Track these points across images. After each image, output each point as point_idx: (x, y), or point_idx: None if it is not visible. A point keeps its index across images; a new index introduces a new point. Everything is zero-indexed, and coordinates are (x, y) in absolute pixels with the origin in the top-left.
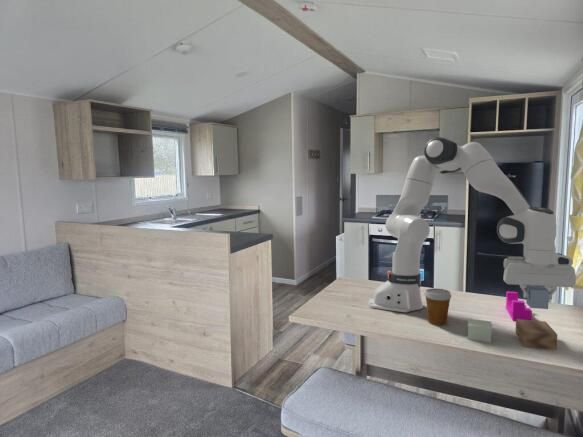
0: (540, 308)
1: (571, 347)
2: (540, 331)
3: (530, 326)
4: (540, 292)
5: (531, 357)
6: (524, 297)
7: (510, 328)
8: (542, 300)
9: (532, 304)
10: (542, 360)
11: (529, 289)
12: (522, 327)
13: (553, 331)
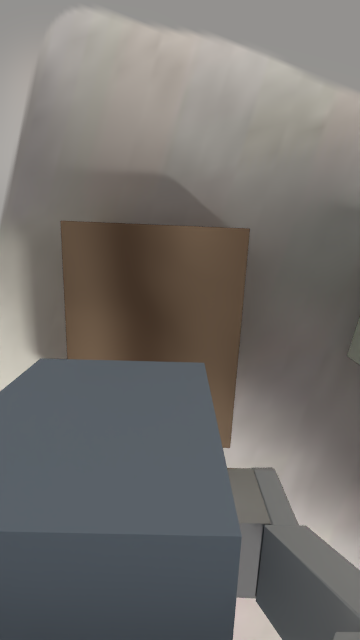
0: (111, 361)
1: (13, 276)
2: (149, 256)
3: (184, 337)
4: (47, 491)
5: (241, 88)
6: (272, 481)
7: (224, 455)
8: (65, 401)
9: (189, 377)
10: (198, 57)
11: (227, 625)
12: (239, 307)
13: (70, 273)
